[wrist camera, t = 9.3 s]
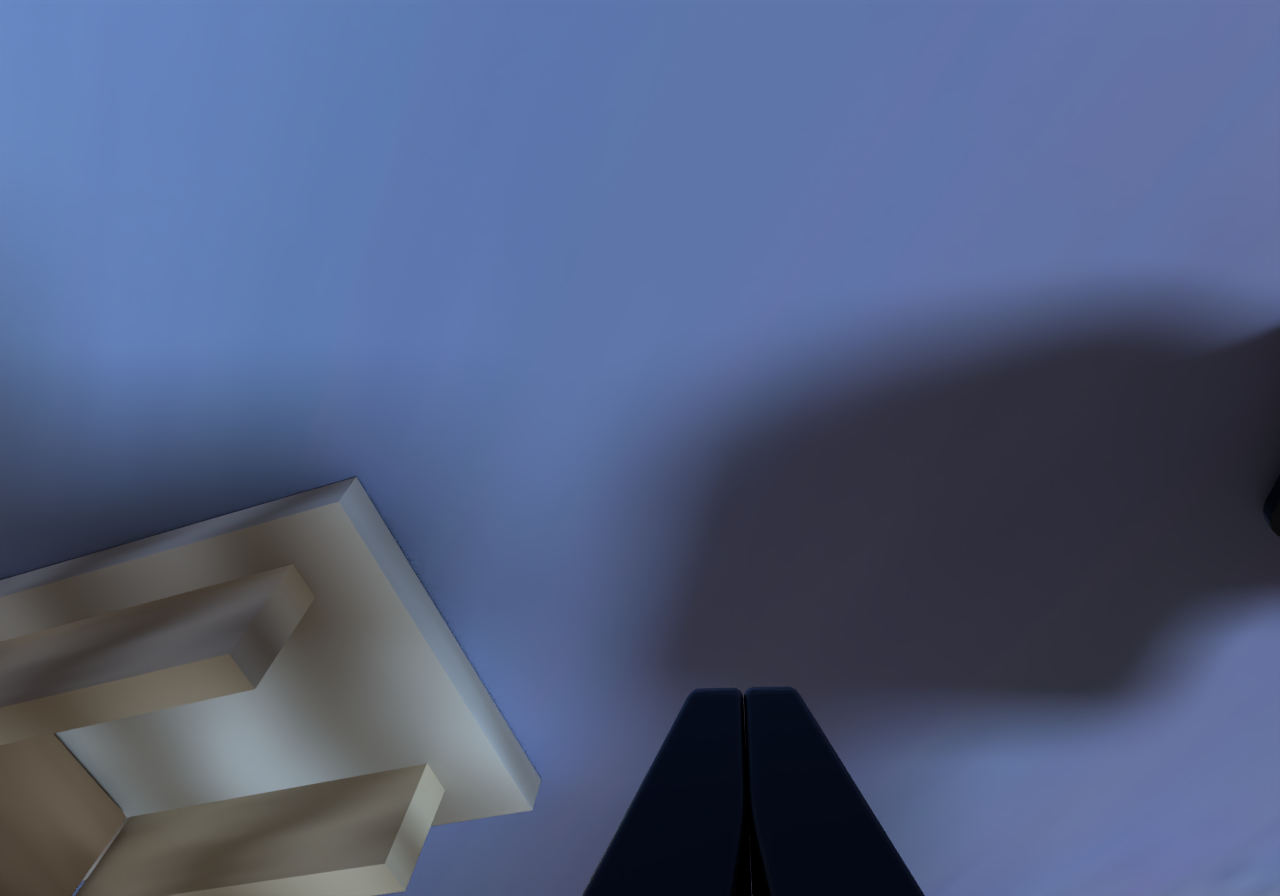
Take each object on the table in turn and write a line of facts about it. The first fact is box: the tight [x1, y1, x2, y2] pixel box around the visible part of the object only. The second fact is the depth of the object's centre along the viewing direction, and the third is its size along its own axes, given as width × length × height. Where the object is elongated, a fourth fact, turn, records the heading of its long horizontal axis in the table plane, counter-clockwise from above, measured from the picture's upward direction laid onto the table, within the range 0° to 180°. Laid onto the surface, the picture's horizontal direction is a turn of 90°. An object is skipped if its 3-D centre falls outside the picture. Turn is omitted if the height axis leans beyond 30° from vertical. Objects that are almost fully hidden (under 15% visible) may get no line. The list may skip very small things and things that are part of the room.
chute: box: [0, 477, 541, 896], centre depth 27 cm, size 18×10×4 cm, turn 112°
